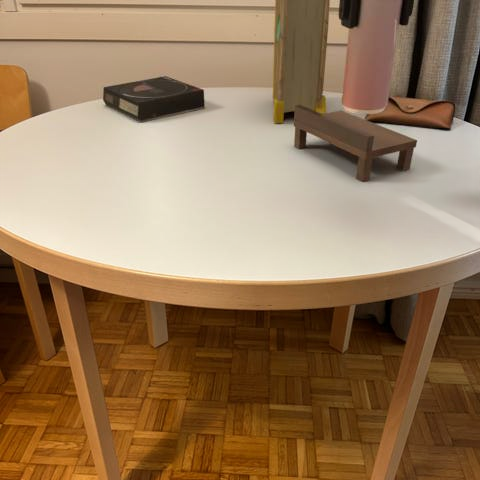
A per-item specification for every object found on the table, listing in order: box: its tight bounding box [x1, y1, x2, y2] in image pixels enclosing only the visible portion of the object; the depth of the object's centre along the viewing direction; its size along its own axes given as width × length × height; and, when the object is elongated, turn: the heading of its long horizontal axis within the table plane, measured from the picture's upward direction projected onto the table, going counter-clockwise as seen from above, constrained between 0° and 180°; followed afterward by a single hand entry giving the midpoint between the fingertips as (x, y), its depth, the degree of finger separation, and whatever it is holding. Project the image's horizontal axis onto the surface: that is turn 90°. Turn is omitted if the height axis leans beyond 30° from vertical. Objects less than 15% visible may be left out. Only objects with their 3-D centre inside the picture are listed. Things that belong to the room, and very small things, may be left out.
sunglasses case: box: [363, 95, 456, 129], centre depth 111 cm, size 18×7×7 cm
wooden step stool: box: [293, 105, 418, 182], centre depth 93 cm, size 11×20×7 cm, turn 30°
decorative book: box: [272, 0, 331, 124], centre depth 109 cm, size 20×11×30 cm, turn 178°
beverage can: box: [341, 0, 403, 115], centre depth 66 cm, size 6×6×15 cm
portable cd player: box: [102, 75, 206, 123], centre depth 120 cm, size 16×17×4 cm
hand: (374, 23), depth 64 cm, fingers closed on beverage can, 6 cm apart
